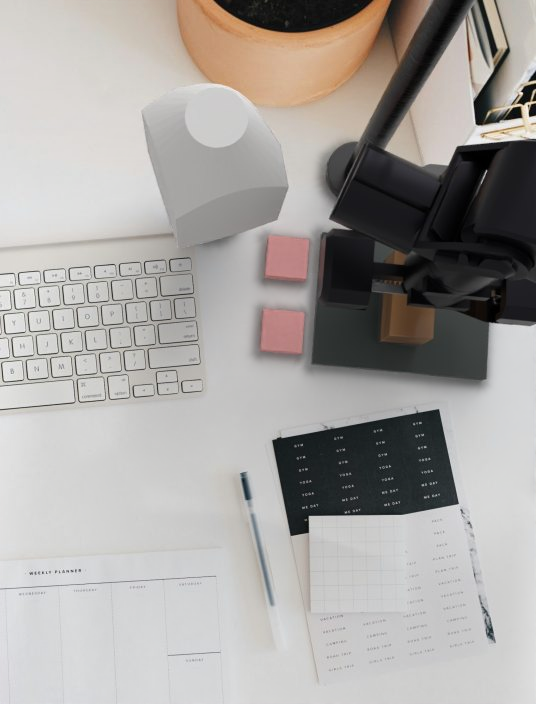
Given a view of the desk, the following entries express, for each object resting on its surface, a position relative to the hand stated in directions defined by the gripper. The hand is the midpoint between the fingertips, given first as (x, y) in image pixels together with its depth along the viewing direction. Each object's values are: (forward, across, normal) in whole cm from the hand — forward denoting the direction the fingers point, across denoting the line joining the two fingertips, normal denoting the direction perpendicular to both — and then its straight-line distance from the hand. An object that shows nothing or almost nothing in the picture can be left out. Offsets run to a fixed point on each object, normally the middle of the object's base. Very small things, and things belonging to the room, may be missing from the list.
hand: (405, 299), depth 70 cm
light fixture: (+4, +19, -8) cm, 21 cm away
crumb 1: (+4, +11, -4) cm, 12 cm away
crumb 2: (+4, +11, +4) cm, 12 cm away
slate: (+4, -1, 0) cm, 4 cm away
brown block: (+2, 0, 0) cm, 3 cm away
